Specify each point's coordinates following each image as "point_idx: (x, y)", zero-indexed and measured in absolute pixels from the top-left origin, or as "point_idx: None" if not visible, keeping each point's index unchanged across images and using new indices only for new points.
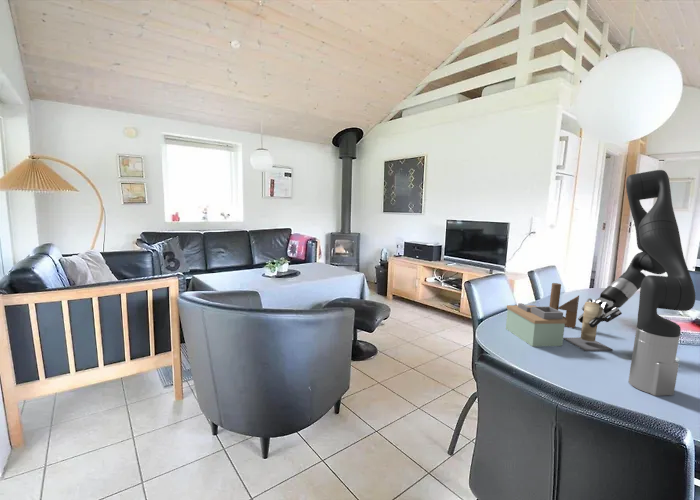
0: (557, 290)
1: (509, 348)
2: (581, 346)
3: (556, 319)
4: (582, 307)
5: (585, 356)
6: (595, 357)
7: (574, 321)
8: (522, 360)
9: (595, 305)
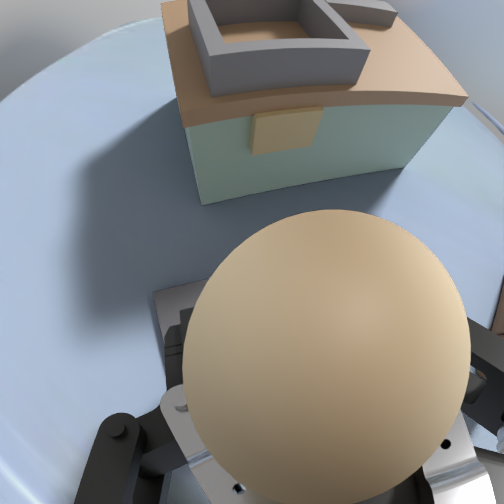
0: None
1: (157, 47)
2: (193, 293)
3: (193, 66)
4: (471, 321)
5: (94, 262)
6: (88, 305)
7: None
8: (80, 65)
9: (183, 361)
